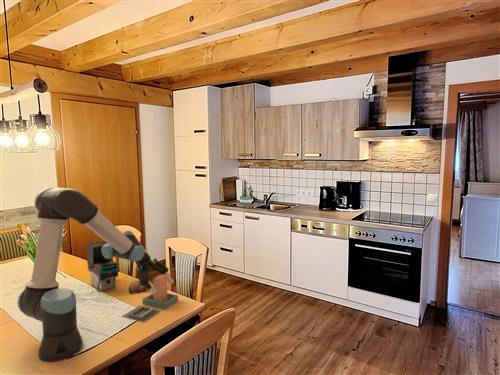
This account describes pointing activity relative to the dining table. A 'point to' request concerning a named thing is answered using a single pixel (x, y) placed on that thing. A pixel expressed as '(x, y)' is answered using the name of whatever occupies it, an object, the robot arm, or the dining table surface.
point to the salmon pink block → (160, 288)
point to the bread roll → (136, 287)
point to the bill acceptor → (101, 267)
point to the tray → (150, 302)
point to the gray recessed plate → (141, 314)
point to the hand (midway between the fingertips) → (164, 288)
